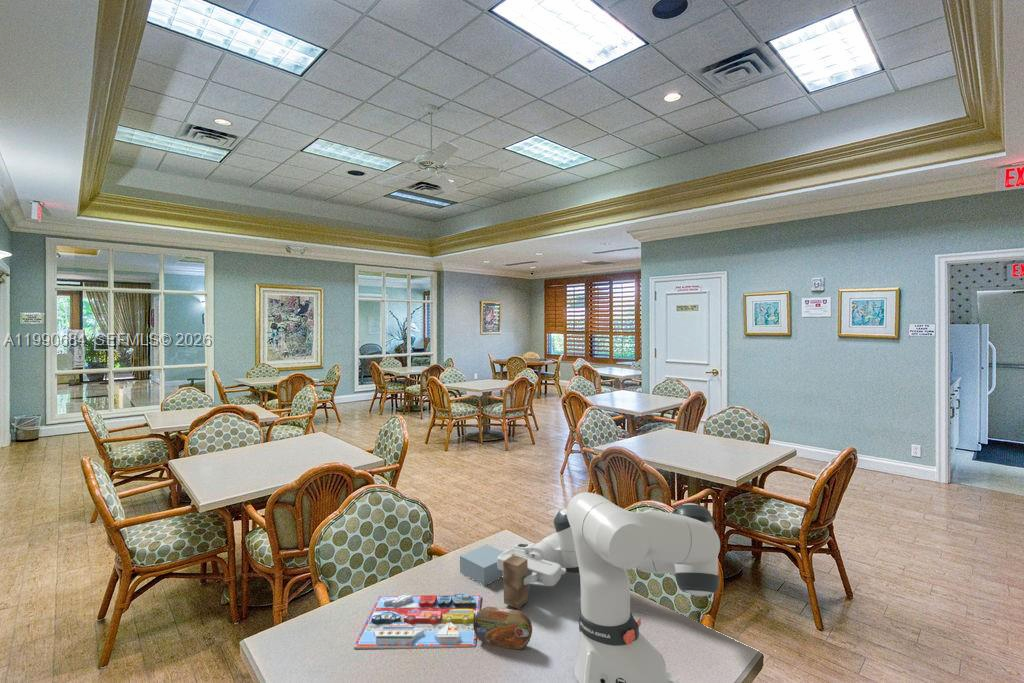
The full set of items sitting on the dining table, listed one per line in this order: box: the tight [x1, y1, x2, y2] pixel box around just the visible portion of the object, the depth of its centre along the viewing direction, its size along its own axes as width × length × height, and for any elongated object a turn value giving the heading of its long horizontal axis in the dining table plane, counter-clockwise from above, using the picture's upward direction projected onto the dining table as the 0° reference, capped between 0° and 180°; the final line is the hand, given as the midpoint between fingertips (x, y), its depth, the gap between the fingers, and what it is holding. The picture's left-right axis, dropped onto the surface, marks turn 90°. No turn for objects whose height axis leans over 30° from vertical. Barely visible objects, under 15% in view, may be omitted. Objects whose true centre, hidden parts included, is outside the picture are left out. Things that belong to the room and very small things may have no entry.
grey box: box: [459, 544, 504, 587], centre depth 155 cm, size 12×12×6 cm
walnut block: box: [503, 555, 529, 610], centre depth 136 cm, size 5×5×12 cm
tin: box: [473, 606, 533, 650], centre depth 119 cm, size 15×3×8 cm, turn 73°
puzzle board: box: [353, 593, 482, 650], centre depth 129 cm, size 30×23×3 cm
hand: (513, 578), depth 135 cm, fingers closed on walnut block, 5 cm apart
